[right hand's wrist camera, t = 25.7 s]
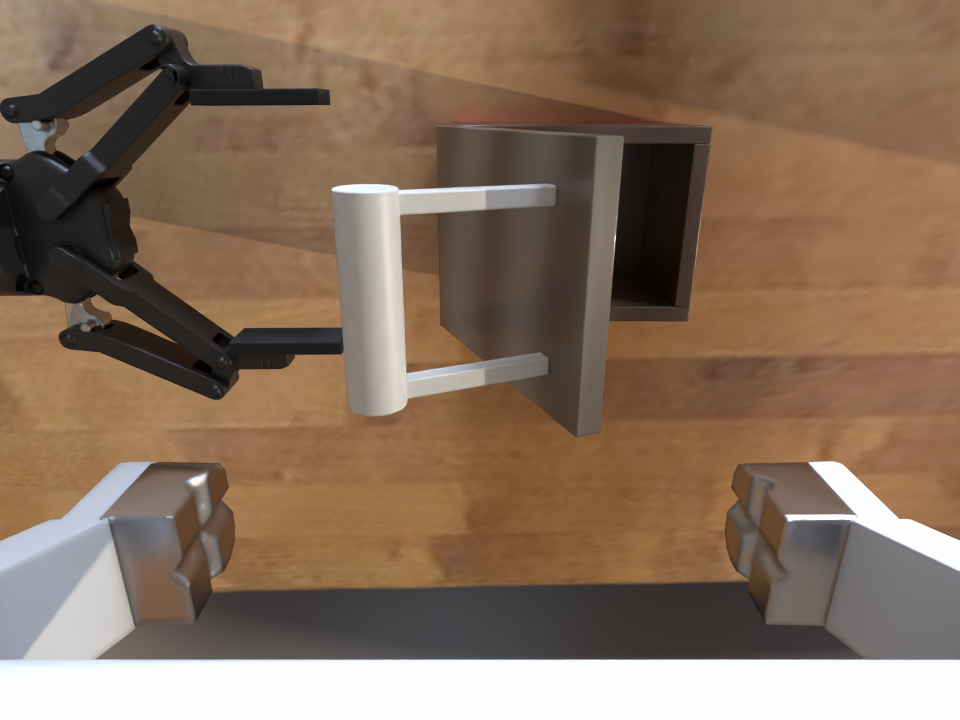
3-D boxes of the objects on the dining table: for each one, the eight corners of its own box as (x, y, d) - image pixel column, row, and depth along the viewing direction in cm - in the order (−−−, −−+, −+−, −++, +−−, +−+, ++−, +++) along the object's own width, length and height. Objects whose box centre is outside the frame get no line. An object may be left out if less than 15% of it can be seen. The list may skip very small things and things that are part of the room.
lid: (625, 136, 20) (346, 139, 17) (600, 432, 24) (369, 483, 20) (456, 125, 32) (275, 126, 29) (457, 322, 36) (298, 343, 32)
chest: (663, 122, 41) (713, 126, 32) (647, 280, 45) (688, 321, 36) (453, 121, 41) (446, 124, 32) (455, 279, 45) (449, 320, 36)
